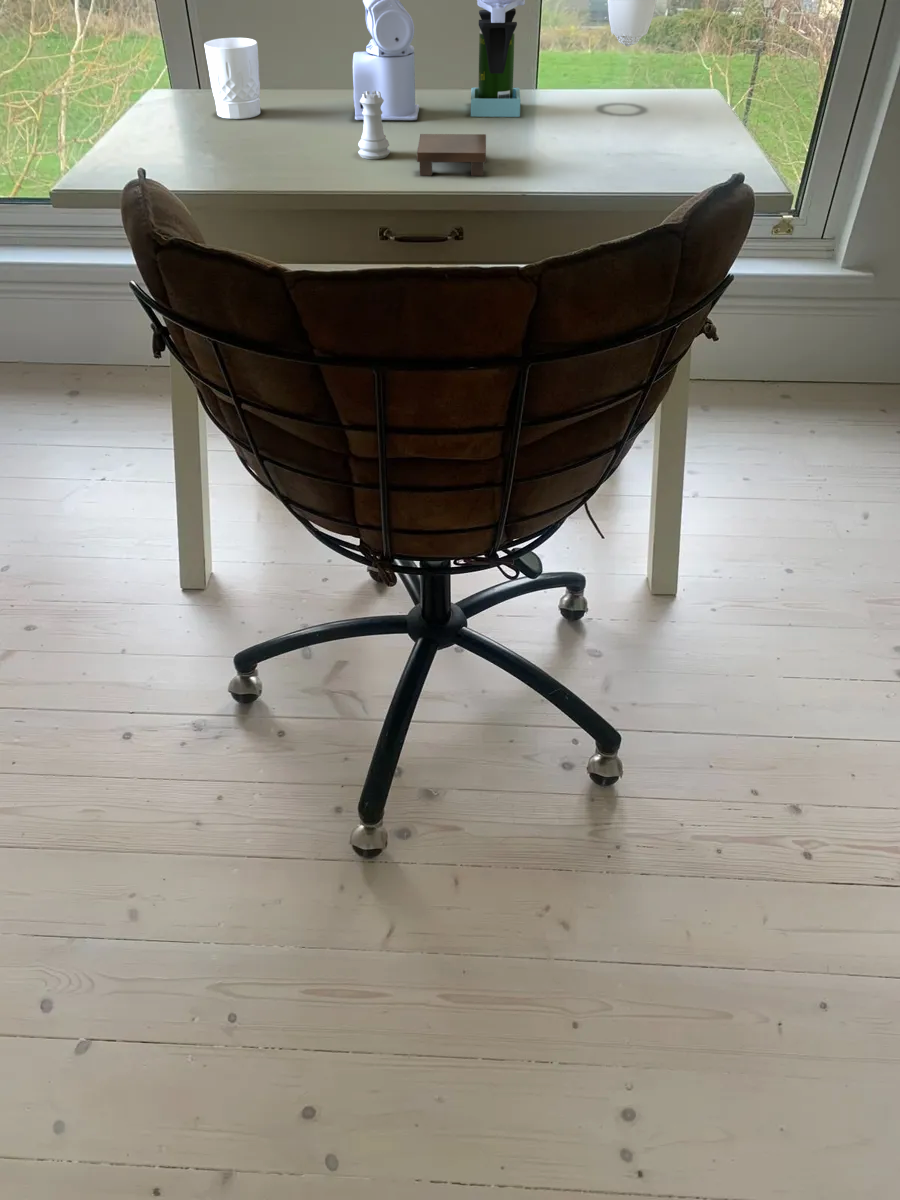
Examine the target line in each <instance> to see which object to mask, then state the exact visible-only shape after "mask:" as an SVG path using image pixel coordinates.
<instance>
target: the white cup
mask: <svg viewBox="0 0 900 1200" xmlns="http://www.w3.org/2000/svg"><path fill="white" fill-rule="evenodd" d="M203 46H204V51H205V57H206V64H207V68H208V76H209V80H210V87H211V90H212V95H213V98H214V103H215V108H216V109H215V110H216V115H217V116H218V117H220V118H223V119H228V120H245V119H250V118H255V117H257V116H259V115H260V114H261V100H260V99H261V96H260V95H261V89H260V88H261V82H260V64H259V48H258V41H257V40H255V39H253V38H247V37H223V38H222V37H221V38H214V39H209V40H207V41H205V42H204V44H203Z"/></svg>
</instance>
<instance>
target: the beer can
mask: <svg viewBox="0 0 900 1200" xmlns="http://www.w3.org/2000/svg"><path fill="white" fill-rule="evenodd" d="M515 32H516V31H514V33H513V35H512V38H511V41H510V44H509V48H508V54H507V60H506V65H505V69H504V73H490V71H489V67H488V60H487V51H486V45H485V41H484V37H483V34H482V32H481V30H480V29H479V32H478V35H479V36H478V87H477V88H478V98H506V99H513V88H514V66H515V65H514V64H515V40H516V39H515V38H516V37H515V34H516V33H515Z"/></svg>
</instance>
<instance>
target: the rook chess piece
mask: <svg viewBox="0 0 900 1200" xmlns="http://www.w3.org/2000/svg"><path fill="white" fill-rule="evenodd" d="M360 102H361V104H362V105H363V108H364V110H363V112H362V114H363V115H364V120H363V126H362V127H363V128H362V134H361V136H360V140H359V141H358V142H357V143H358V145H357V146H358V148H359V150H358V151H357V153H358V155H359V157H360V158H363V159H365V160H366V159H367V160H380V159H384V158H385V159H386V158H387V157H388V156H389V154H390V153H391V151H390V149H389V146H390V143H389V140H388V139H387V136H386V134H385V132H384V128H383V120H381V115H382V113H383V112H382V111H381V105H382V103H383V102H384V100H383V99H382V97H381V93H380V92H377V95H376V91H372V94H370V93H369V91H366V94H365V92H363V93H362V98H361V100H360Z"/></svg>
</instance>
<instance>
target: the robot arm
mask: <svg viewBox="0 0 900 1200" xmlns="http://www.w3.org/2000/svg"><path fill="white" fill-rule="evenodd" d="M476 1H477V2H476V4H477V6H478V7H479V8H481V9H479V10H478V15H479V17H480V19H478V27H479V31H480V30H481V32H482V34H483V37H484V41H485V45H486V51H487V60H488V67H489V71H490V73H504V69H505V65H506V60H507V54H508V48H509V44H510V41H511V38H512V35H513V33H514V32H516V29H517V27H518V22H517V21H513V20H514V18H515V16H516V14H517V10H516V8H517V7H518V6H525V5H526V0H476ZM362 3H363V5H364V10H365V25H366V28H367V30H368V32H369V35H371V37H372V38H371V39H370V40H369V42H368V44H367V45H366V47H365V51H355V52H354V53H353V54H352V55H353V56H352V81H353V82H352V83H353V105H354V120H356V121H364V115H363V114H362V112H363V110H364V108H363V105H362V104H361V102H360V100H361V98H362V93H363V92H365V94H366V91H369V93H370V94H372V91H376V95H377V92H380V93H381V97H382V99H383V100H384V102H383V103H382V105H381V111H382V112H383V113H382V115H381V120H382V121H417V120H418V116H419V110H420V104H416V70H415V66H416V63H415V46H414V45H412V42H413V40H414V36H415V23H414V20H413V18H412V16H411V14H410V12H408V10H406V9H405V7H404V4H402V2H401V1H400V0H362Z"/></svg>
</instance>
